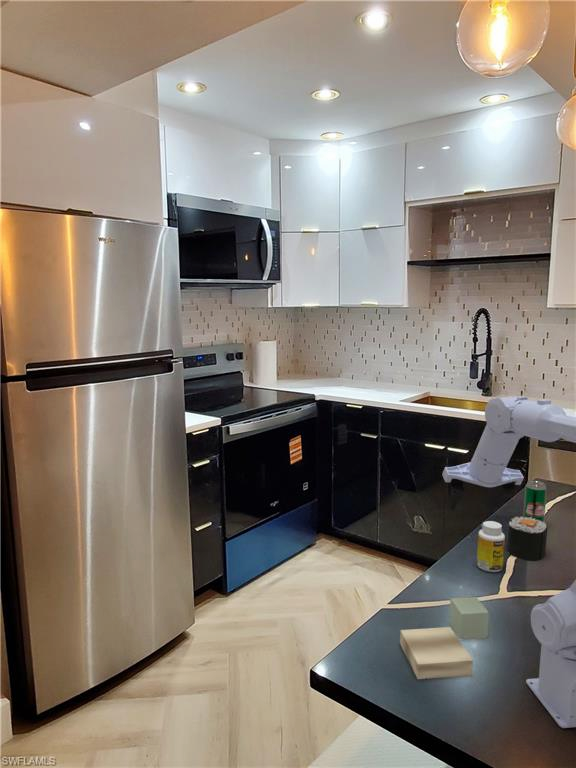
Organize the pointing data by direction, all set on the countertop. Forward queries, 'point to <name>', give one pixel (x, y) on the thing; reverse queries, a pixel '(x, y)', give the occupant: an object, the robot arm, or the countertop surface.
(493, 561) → the supplement bottle
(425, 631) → the maple block
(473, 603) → the green cube
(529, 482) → the soda can
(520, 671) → the countertop surface
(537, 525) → the sushi
